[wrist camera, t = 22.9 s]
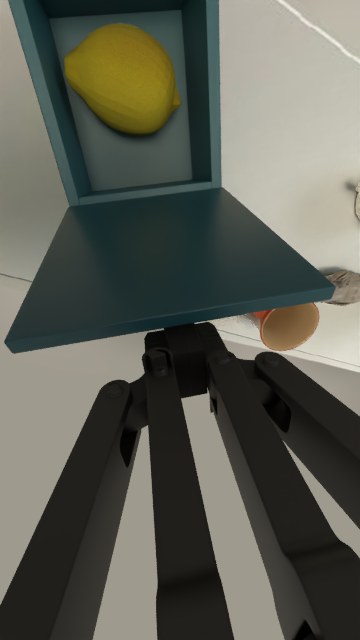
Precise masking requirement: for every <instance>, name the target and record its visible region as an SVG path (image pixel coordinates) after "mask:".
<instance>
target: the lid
mask: <svg viewBox="0 0 360 640" xmlns="http://www.w3.org/2000/svg"><path fill="white" fill-rule="evenodd" d="M335 289H336V286H335V285H334V284H333V283H332V282H331V281H330V280H328V279H327V278H326V277H325V276H324V275H323V274H322V273H320V272H319V271H318V270H317V269H316V268H315V267H314V266H312V265H311V264H310V263H309V262H308V261H307V260H306V259H304V258H303V257H302V256H301V255H300V254H299V253H298V252H296V251H295V250H294V249H293V248H292V247H291V246H289V245H288V244H287V243H286V242H285V241H284V240H283V239H281V238H280V237H279V236H278V235H277V234H276V233H275V232H273V231H272V230H271V229H270V228H269V227H268V226H267V225H265V224H264V223H263V222H262V221H261V220H260V219H259V218H257V217H256V216H255V215H254V214H253V213H252V212H251V211H249V210H248V209H247V208H246V207H245V206H244V205H243V204H241V203H240V202H239V201H238V200H237V199H236V198H235V197H233V196H232V195H231V194H230V193H229V192H228V191H227V190H225V189H224V188H223V187H222V188H214V189H206V190H198V191H190V192H182V193H174V194H166V195H158V196H150V197H142V198H135V199H127V200H119V201H111V202H103V203H95V204H87V205H79V206H71V207H68V209H67V211H66V213H65V215H64V218H63V220H62V222H61V224H60V226H59V228H58V230H57V232H56V234H55V236H54V238H53V241H52V243H51V245H50V247H49V249H48V251H47V253H46V255H45V257H44V259H43V261H42V263H41V266H40V268H39V270H38V272H37V274H36V276H35V278H34V280H33V282H32V284H31V286H30V289H29V291H28V293H27V295H26V297H25V299H24V301H23V303H22V306H21V307H20V310H19V312H18V314H17V316H16V318H15V320H14V322H13V324H12V326H11V328H10V330H9V332H8V335H7V337H6V339H5V341H4V342H5V344H6V346H7V347H8V348H9V349H10V351H11V352H12V353H14V354H15V353H21V352H27V351H32V350H38V349H43V348H50V347H55V346H61V345H68V344H73V343H79V342H85V341H91V340H96V339H103V338H108V337H114V336H120V335H126V334H132V333H138V332H143V331H149V330H155V329H161V328H167V327H173V326H179V325H184V324H190V323H196V322H202V321H208V320H214V319H220V318H225V317H231V316H237V315H243V314H249V313H255V312H260V311H266V310H272V309H278V308H284V307H290V306H296V305H301V304H307V303H313V302H319V301H325V300H330V299H332V297H333V294H334V292H335Z"/></svg>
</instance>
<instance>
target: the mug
mask: <svg viewBox="0 0 360 640" xmlns="http://www.w3.org/2000/svg"><path fill="white" fill-rule="evenodd" d="M246 315H247V316H248V317H249V318H250V319H251V321H252V322H253V323H254V324H255V325H256V326H257V327H258V329H259V332H260V336H261V339H262V341H263V343H264V344H265V345H266V346H267V347H268V348H270V349H272V350H276V351H286V350H290V349H293V348H296V347H298V346H300V345H301V344H303V343H304V342H305V341H307V340H308V339H309V338H310V337H311V335H312V334H313V333H314V331H315V329H316V327H317V325H318V322H319V311H318V309H317V307H316V305H315V304H314V303H307V304H301V305H296V306H290V307H284V308H278V309H272V310H266V311H260V312H255V313H249V314H246Z"/></svg>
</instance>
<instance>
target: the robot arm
mask: <svg viewBox="0 0 360 640" xmlns="http://www.w3.org/2000/svg"><path fill="white" fill-rule="evenodd" d="M144 340H145V353H144V354H143V356H142V362H143V366H144V371H145V373H144V375H143V376H142V377H141V378H139V379H138V380H136V381H134V382H132V383H128V382H126V381H124V380H114V381H111V382H109V383H107V384H106V385H104V386H103V387H102V388H101V390H100V391H99V393H98V395H97V398H96V400H95V402H94V404H93V406H92V409H91V410H90V413H89V415H88V417H87V419H86V422H85V424H84V426H83V428H82V430H81V432H80V434H79V437H78V439H77V441H76V443H75V445H74V447H73V449H72V452H71V454H70V456H69V458H68V460H67V462H66V465H65V467H64V469H63V471H62V473H61V476H60V478H59V480H58V482H57V484H56V486H55V489H54V490H53V493H52V495H51V497H50V499H49V501H48V504H47V506H46V508H45V510H44V512H43V514H42V516H41V519H40V521H39V523H38V525H37V527H36V529H35V532H34V534H33V536H32V538H31V540H30V542H29V545H28V547H27V549H26V551H25V553H24V555H23V558H22V560H21V562H20V564H19V566H18V568H17V570H16V573H15V575H14V577H13V579H12V581H11V583H10V586H9V588H8V590H7V592H6V595H5V596H4V599H3V601H2V603H1V605H0V640H92V639H93V635H94V631H95V627H96V622H97V618H98V614H99V609H100V605H101V601H102V597H103V593H104V588H105V584H106V580H107V575H108V571H109V567H110V563H111V558H112V554H113V550H114V546H115V541H116V537H117V533H118V529H119V524H120V520H121V516H122V511H123V507H124V503H125V499H126V494H127V490H128V486H129V482H130V477H131V473H132V469H133V464H134V460H135V456H136V452H137V448H138V443H139V439H140V435H141V428H143V427H145V426H147V425H148V428H149V445H150V461H151V478H152V494H153V510H154V525H155V526H154V527H155V541H156V542H155V543H156V558H157V576H158V589H157V596H156V616H157V617H156V618H157V639H158V640H234V636H233V632H232V627H231V623H230V618H229V613H228V609H227V604H226V600H225V595H224V591H223V587H222V583H221V579H220V576H219V573H218V569H217V564H216V560H215V555H214V551H213V546H212V541H211V537H210V532H209V528H208V523H207V518H206V513H205V509H204V504H203V499H202V495H201V490H200V485H199V481H198V476H197V471H196V466H195V462H194V457H193V453H192V448H191V444H190V438H189V434H188V429H187V424H186V420H185V415H184V410H183V406H182V401H181V398H186V397H191V396H196V395H201V394H206V393H207V388H208V390H209V394H210V410H211V412H214V415H215V418H216V421H217V424H218V427H219V430H220V433H221V436H222V439H223V442H224V445H225V448H226V451H227V454H228V458H229V461H230V463H231V467H232V470H233V473H234V475H235V479H236V482H237V485H238V487H239V491H240V494H241V497H242V499H243V502H244V505H245V509H246V512H247V515H248V518H249V520H250V524H251V527H252V530H253V533H254V536H255V539H256V542H257V545H258V548H259V551H260V554H261V557H262V560H263V563H264V566H265V569H266V572H267V575H268V578H269V581H270V585H271V588H272V591H273V596H274V602H275V607H276V611H277V615H278V619H279V622H280V626H281V629H282V632H283V635H284V638H285V640H360V558H359V557H358V556H357V554H356V553H355V552H354V551H353V550H352V549H351V547H349V546H348V545H346V544H345V543H343V542H342V541H340V540H339V539H338V538H337V536H336V535H335V534H334V532H333V530H332V529H331V527H330V525H329V523H328V522H327V520H326V518H325V516H324V515H323V512H322V511H321V509H320V507H319V505H318V504H317V502H316V500H315V498H314V496H313V495H312V493H311V491H310V489H309V487H308V485H307V484H306V482H305V480H304V478H303V477H302V475H301V473H300V471H299V469H298V468H297V466H296V464H295V462H294V460H293V459H292V457H291V455H290V453H289V451H288V450H287V448H286V446H285V444H284V442H285V443H286V444H287V446H288V447H289V448H290V449H291V450H292V451H293V452H294V454H295V455H296V456H297V457H298V458H299V459H300V461H301V462H302V463H303V464H304V465H305V466H306V468H307V469H308V470H309V471H310V472H311V473H312V474H313V476H314V477H315V478H316V479H317V480H318V481H319V482H320V484H321V485H322V486H323V487H324V488H325V489H326V491H327V492H328V493H329V494H330V495H331V496H332V498H333V499H334V500H335V501H336V502H337V503H338V504H339V506H340V507H341V508H342V509H343V510H344V512H345V513H346V514H347V515H348V516H349V517H350V519H351V520H352V521H353V522H354V523H355V524H356V525H357V527H358V528H359V529H360V416H358V415H357V414H356V413H355V412H353V411H352V410H351V409H349V408H348V407H347V406H346V405H344V404H343V403H342V402H340V401H339V400H338V399H337V398H335V397H334V396H333V395H331V394H330V393H329V392H328V391H326V390H325V389H324V388H322V387H321V386H320V385H319V384H317V383H316V382H315V381H313V380H312V379H311V378H310V377H308V376H307V375H306V374H305V373H303V372H302V371H301V370H299V369H298V368H297V367H295V366H294V365H293V364H292V363H290V362H289V361H288V360H287V359H285V358H284V357H283V356H281V355H279V354H278V353H274V352H262V353H260V354H258V355H257V356H256V357H255V360H243V359H238V358H236V356H235V355H234V354H233V353H231V352H229V351H228V350H227V348H226V347H225V344H224V343H223V341H222V339H221V337H220V335H219V333H218V332H217V329H216V328H215V326H214V325H213V324H211V323H210V322H204V323H198V324H194V323H190V324H184V325H179V326H173V327H167V328H164V330H161V331H155V332H149V333H147V335H146V337H145V338H144ZM282 440H283V441H284V442H283V441H282Z"/></svg>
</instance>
